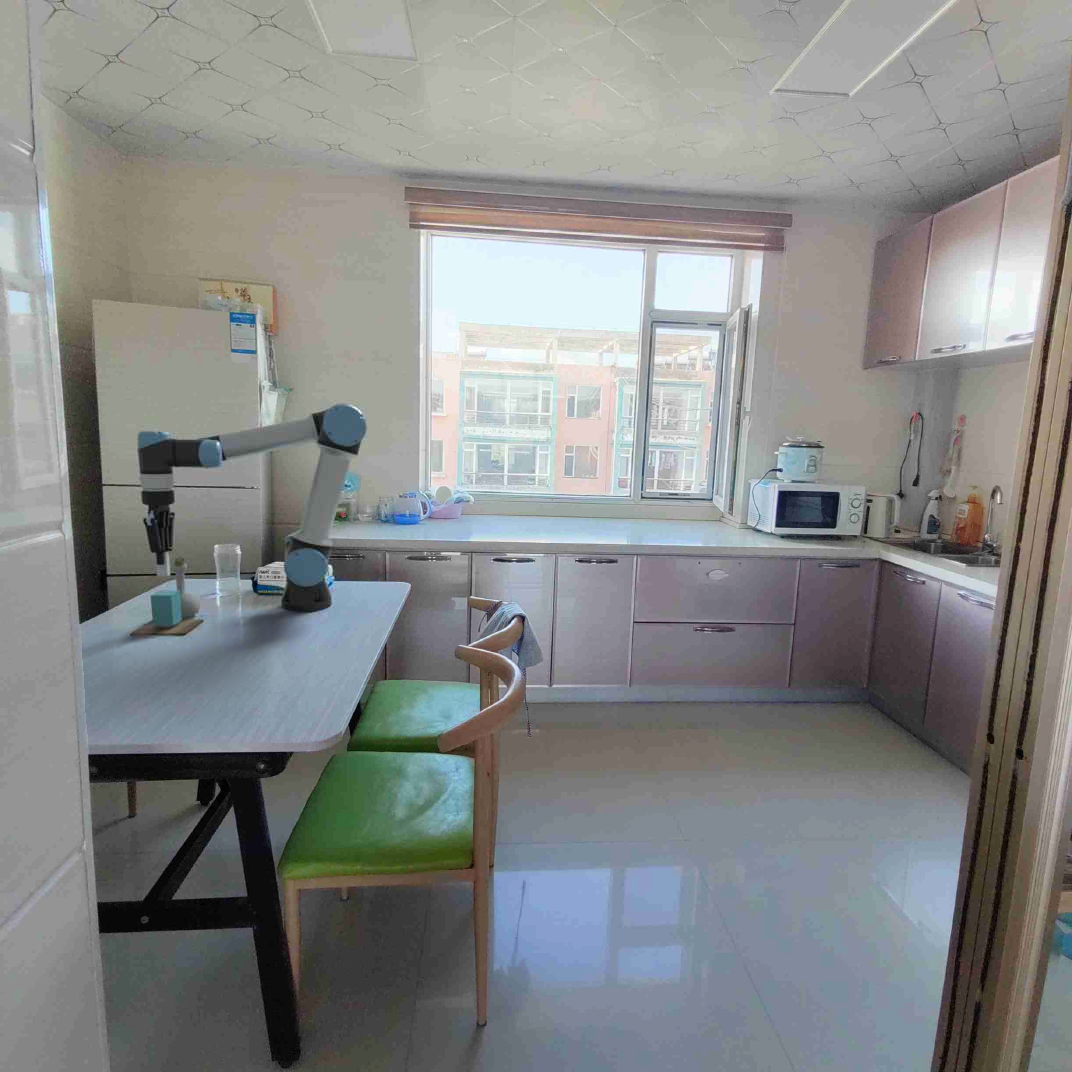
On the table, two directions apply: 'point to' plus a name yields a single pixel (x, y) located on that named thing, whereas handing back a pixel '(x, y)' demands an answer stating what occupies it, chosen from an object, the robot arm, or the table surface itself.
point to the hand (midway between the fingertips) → (163, 575)
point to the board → (178, 629)
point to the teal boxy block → (166, 607)
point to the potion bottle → (186, 598)
